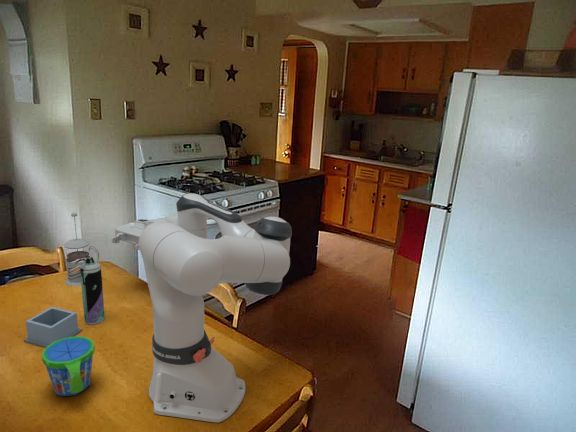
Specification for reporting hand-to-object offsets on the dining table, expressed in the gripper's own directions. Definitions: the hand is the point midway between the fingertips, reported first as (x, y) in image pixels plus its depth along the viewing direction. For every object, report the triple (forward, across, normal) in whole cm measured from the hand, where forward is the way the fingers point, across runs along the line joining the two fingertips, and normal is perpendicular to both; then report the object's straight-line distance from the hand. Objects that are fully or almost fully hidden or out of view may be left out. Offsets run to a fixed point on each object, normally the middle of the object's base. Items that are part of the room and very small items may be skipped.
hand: (123, 244), depth 129 cm
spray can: (+12, 0, -21) cm, 24 cm away
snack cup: (+34, -21, -21) cm, 45 cm away
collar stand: (+24, +2, -20) cm, 31 cm away
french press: (-3, +26, -21) cm, 33 cm away
